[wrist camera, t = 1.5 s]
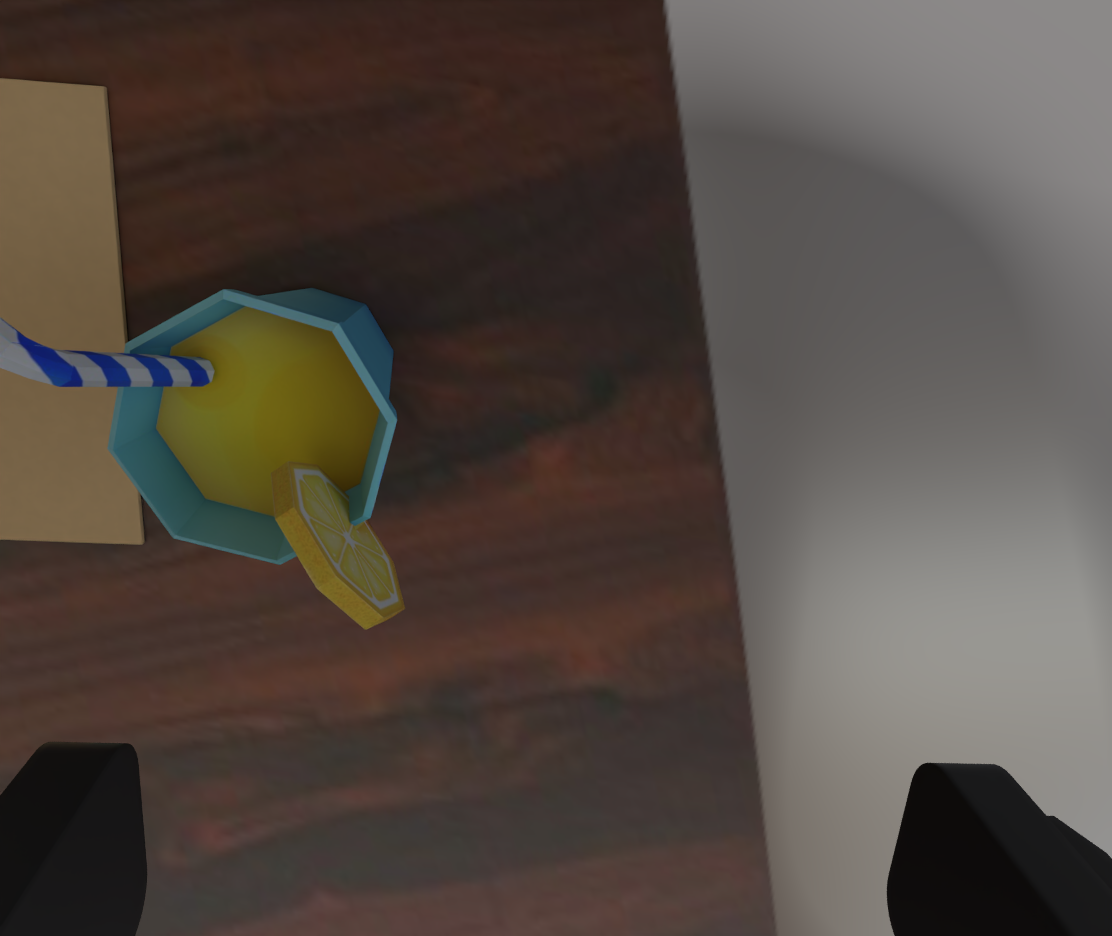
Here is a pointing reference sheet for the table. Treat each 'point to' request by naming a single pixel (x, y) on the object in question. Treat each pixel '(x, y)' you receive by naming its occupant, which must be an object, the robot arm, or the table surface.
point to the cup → (254, 431)
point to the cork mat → (60, 315)
